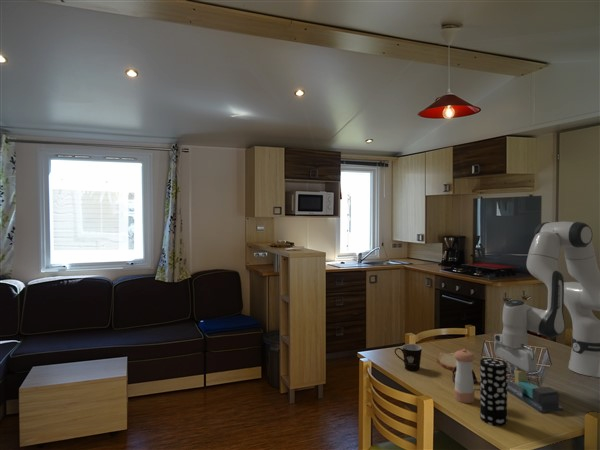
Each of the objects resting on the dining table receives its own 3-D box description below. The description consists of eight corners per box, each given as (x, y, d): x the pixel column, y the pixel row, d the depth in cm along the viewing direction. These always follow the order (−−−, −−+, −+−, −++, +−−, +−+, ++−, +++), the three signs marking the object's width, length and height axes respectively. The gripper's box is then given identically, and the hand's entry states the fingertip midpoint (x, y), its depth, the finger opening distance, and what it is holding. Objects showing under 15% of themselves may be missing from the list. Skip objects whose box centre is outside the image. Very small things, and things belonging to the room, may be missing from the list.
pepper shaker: (455, 393, 157) (455, 345, 157) (475, 397, 153) (475, 348, 153) (452, 400, 151) (452, 350, 150) (473, 405, 147) (473, 353, 147)
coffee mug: (425, 369, 181) (425, 347, 181) (414, 373, 176) (413, 351, 176) (405, 361, 191) (405, 341, 190) (393, 366, 186) (393, 345, 185)
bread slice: (457, 374, 176) (457, 365, 176) (424, 361, 191) (424, 354, 191) (480, 365, 186) (480, 357, 186) (447, 354, 201) (447, 346, 201)
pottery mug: (482, 388, 163) (475, 372, 161) (461, 396, 164) (453, 381, 162) (471, 369, 174) (464, 355, 172) (451, 377, 176) (444, 363, 174)
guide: (516, 382, 166) (516, 367, 166) (563, 410, 142) (563, 393, 142) (497, 384, 164) (497, 369, 164) (541, 412, 141) (541, 395, 141)
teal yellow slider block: (522, 387, 158) (522, 369, 158) (552, 404, 144) (552, 385, 144) (514, 387, 158) (514, 370, 158) (543, 405, 143) (543, 386, 143)
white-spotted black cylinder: (503, 428, 131) (503, 368, 130) (477, 420, 136) (477, 363, 136) (509, 418, 137) (509, 361, 136) (484, 411, 142) (484, 356, 142)
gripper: (541, 348, 150) (541, 384, 151) (504, 333, 171) (504, 364, 171) (526, 349, 149) (526, 386, 150) (491, 334, 170) (491, 365, 170)
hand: (514, 374), depth 161 cm, fingers closed
